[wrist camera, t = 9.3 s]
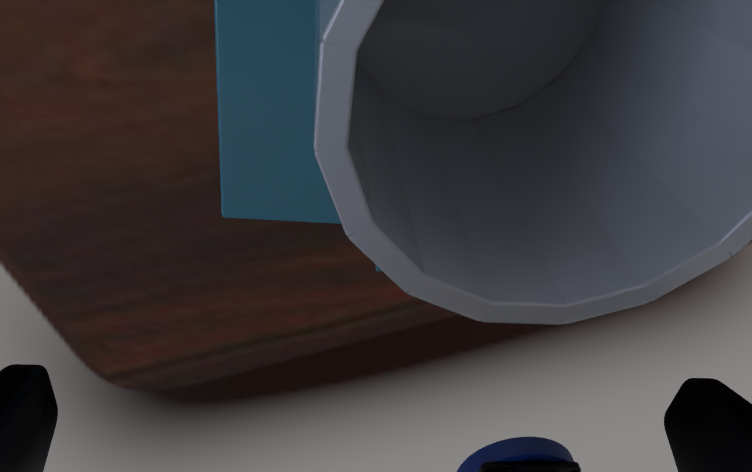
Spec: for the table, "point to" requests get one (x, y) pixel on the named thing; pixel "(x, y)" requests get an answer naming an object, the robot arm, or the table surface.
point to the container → (268, 112)
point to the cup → (537, 147)
